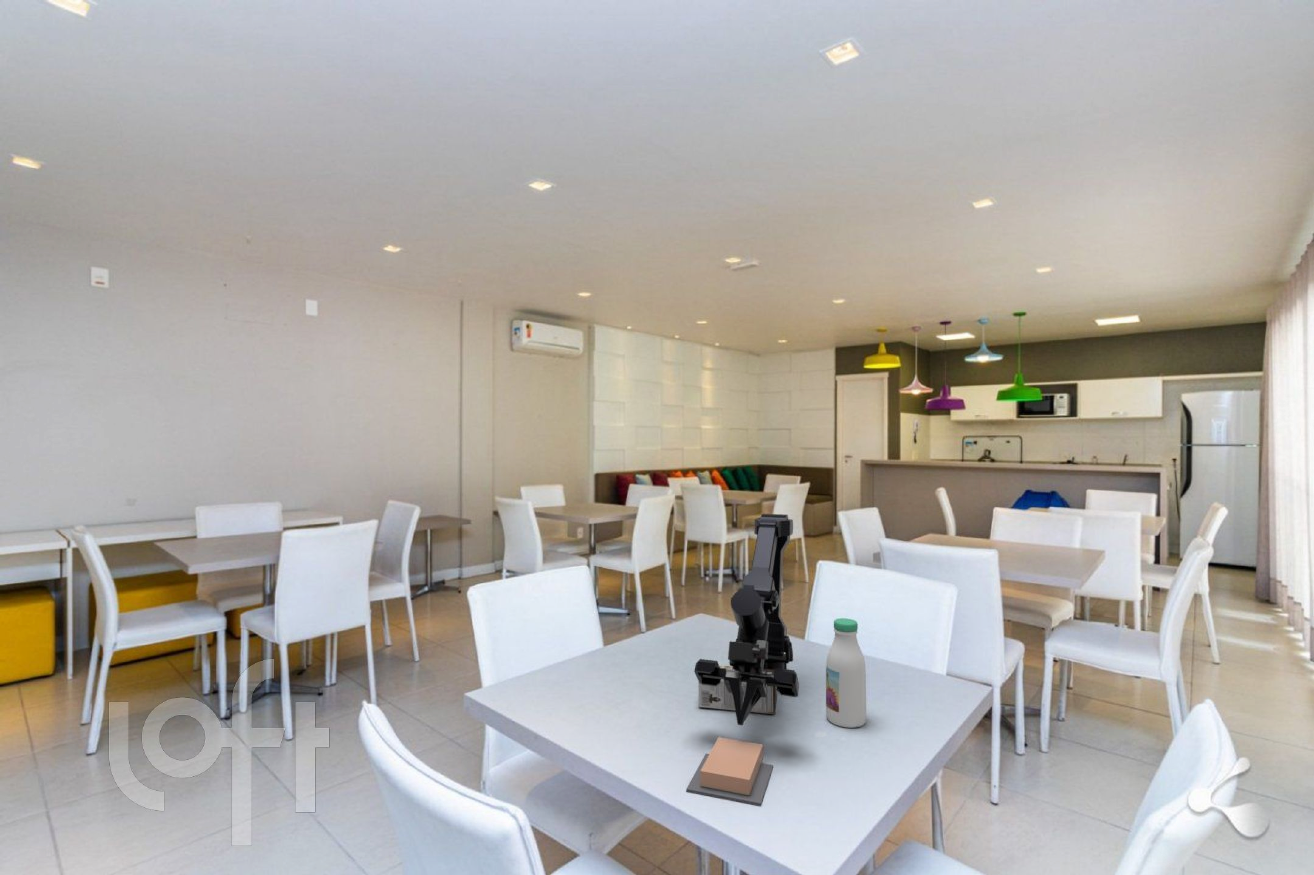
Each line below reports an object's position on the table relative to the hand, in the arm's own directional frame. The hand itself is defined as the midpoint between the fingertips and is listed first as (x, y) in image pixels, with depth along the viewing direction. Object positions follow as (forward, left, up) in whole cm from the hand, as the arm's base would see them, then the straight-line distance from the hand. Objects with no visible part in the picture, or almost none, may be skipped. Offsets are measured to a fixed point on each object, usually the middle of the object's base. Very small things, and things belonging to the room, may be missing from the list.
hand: (739, 724), depth 110 cm
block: (0, 0, -4) cm, 4 cm away
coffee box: (-6, -25, -3) cm, 26 cm away
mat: (+5, +5, -6) cm, 9 cm away
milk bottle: (-28, -4, -6) cm, 29 cm away
